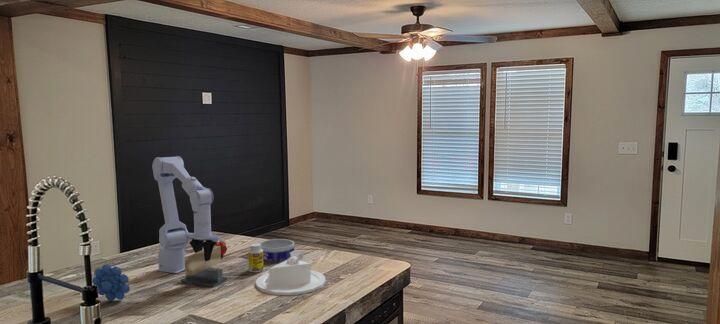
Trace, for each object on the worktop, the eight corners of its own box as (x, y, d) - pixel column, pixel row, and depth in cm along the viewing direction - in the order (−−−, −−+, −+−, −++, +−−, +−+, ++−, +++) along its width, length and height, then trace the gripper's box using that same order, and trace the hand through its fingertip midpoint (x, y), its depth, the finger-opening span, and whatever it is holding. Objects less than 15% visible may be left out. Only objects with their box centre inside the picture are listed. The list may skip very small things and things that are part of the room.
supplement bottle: (251, 273, 178) (251, 247, 177) (246, 269, 182) (246, 244, 181) (265, 271, 181) (265, 245, 180) (260, 267, 185) (259, 242, 184)
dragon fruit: (206, 265, 192) (221, 261, 204) (221, 254, 191) (236, 251, 202) (196, 248, 194) (212, 245, 205) (211, 237, 192) (227, 234, 204)
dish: (297, 267, 186) (297, 240, 185) (339, 283, 168) (339, 253, 167) (242, 282, 169) (242, 252, 168) (283, 302, 151) (282, 268, 150)
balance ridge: (180, 282, 168) (180, 269, 167) (195, 275, 175) (195, 262, 175) (213, 287, 163) (212, 273, 163) (227, 280, 171) (226, 266, 170)
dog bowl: (251, 261, 194) (251, 246, 194) (267, 251, 209) (266, 237, 209) (286, 263, 191) (286, 249, 190) (299, 253, 206) (299, 239, 205)
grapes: (86, 306, 147) (84, 268, 146) (97, 297, 154) (95, 262, 152) (123, 305, 147) (122, 268, 146) (133, 297, 154) (131, 261, 153)
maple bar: (185, 274, 162) (184, 257, 161) (214, 261, 177) (213, 245, 176) (192, 275, 161) (191, 258, 160) (220, 262, 176) (220, 246, 175)
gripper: (178, 223, 166) (179, 260, 167) (212, 226, 161) (213, 265, 162) (191, 219, 173) (192, 255, 174) (224, 222, 168) (225, 259, 169)
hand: (203, 259), depth 169 cm, fingers closed on maple bar, 3 cm apart
